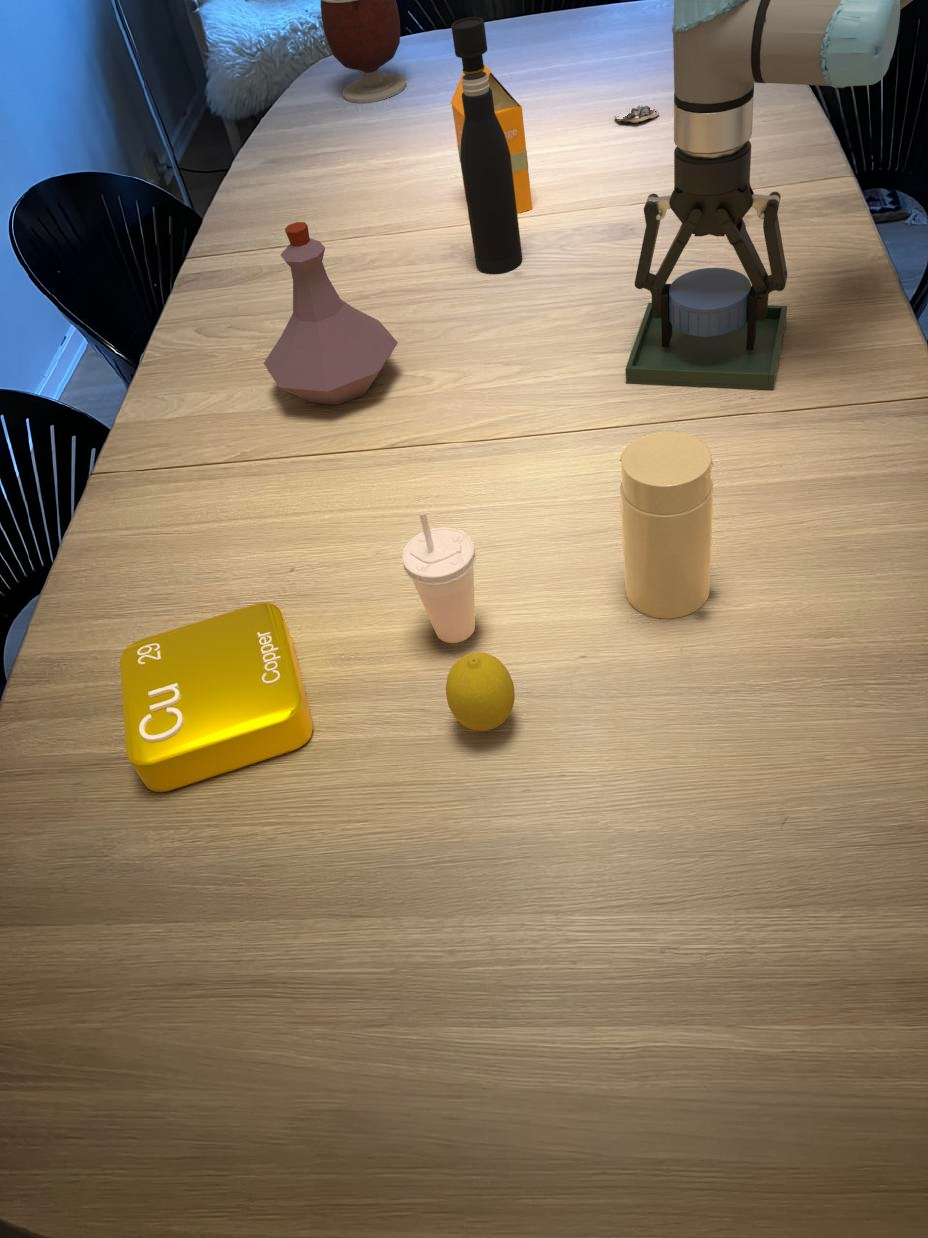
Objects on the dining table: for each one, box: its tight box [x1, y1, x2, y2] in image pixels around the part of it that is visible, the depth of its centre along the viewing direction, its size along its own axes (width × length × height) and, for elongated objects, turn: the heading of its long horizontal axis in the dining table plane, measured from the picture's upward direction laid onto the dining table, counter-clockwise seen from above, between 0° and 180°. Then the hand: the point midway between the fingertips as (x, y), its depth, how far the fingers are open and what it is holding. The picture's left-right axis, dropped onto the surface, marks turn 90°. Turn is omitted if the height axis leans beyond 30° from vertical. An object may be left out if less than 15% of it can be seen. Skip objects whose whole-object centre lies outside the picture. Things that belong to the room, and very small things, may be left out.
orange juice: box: [450, 64, 533, 215], centre depth 147 cm, size 8×9×20 cm
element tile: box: [119, 602, 314, 793], centre depth 90 cm, size 15×15×5 cm
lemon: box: [445, 652, 516, 732], centre depth 84 cm, size 6×6×8 cm
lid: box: [669, 267, 752, 337], centre depth 115 cm, size 9×9×3 cm
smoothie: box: [401, 510, 478, 644], centre depth 90 cm, size 6×6×14 cm
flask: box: [263, 221, 399, 406], centre depth 119 cm, size 16×16×20 cm
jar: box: [619, 430, 714, 620], centre depth 89 cm, size 8×8×15 cm
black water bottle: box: [450, 16, 523, 275], centre depth 131 cm, size 6×6×30 cm
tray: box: [625, 302, 788, 391], centre depth 119 cm, size 16×14×2 cm
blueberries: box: [614, 105, 660, 124], centre depth 168 cm, size 7×8×2 cm
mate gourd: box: [320, 0, 408, 104], centre depth 188 cm, size 16×14×20 cm
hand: (708, 342), depth 119 cm, fingers closed on lid, 9 cm apart
